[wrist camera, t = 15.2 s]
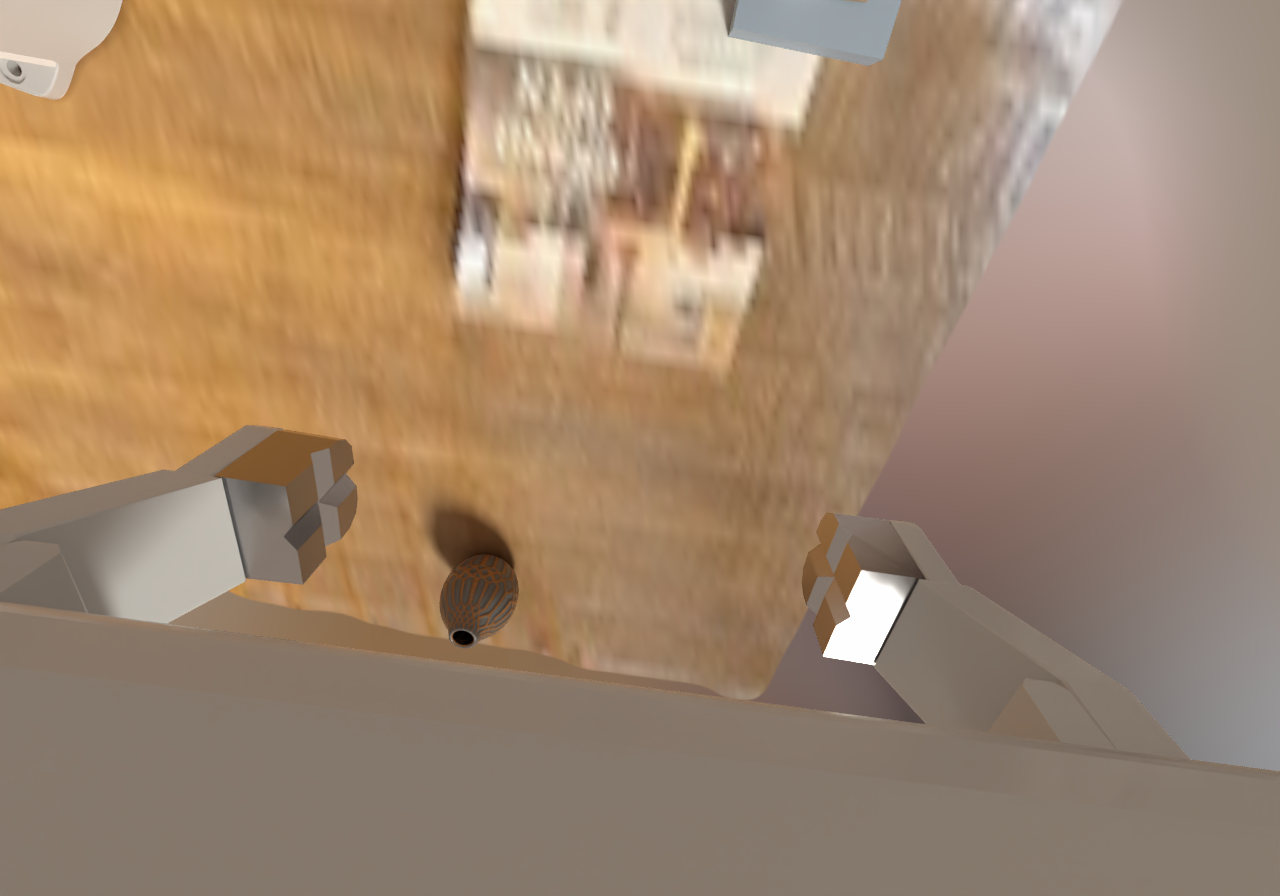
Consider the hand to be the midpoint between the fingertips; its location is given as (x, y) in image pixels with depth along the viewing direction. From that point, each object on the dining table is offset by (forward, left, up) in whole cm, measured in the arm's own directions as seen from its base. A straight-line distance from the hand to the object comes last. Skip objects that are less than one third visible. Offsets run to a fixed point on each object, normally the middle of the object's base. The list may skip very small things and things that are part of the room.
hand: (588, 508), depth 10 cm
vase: (-10, -33, -34) cm, 49 cm away
